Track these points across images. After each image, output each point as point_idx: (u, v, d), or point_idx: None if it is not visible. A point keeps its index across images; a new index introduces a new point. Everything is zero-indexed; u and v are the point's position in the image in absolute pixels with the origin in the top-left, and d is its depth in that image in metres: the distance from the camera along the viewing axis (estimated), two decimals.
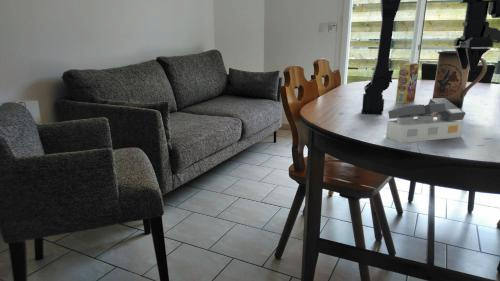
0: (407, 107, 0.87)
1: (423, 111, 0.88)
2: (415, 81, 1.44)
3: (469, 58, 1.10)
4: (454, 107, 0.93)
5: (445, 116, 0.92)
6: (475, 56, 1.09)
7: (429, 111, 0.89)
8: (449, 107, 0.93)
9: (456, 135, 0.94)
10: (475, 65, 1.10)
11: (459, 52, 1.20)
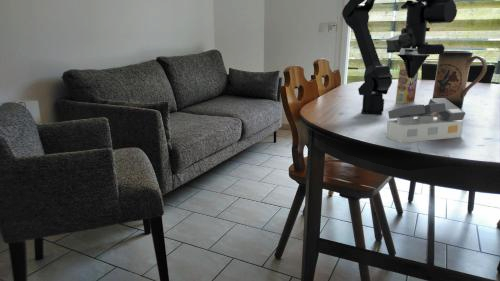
0: (407, 107, 0.87)
1: (423, 111, 0.88)
2: (415, 81, 1.44)
3: None
4: (454, 107, 0.93)
5: (445, 116, 0.92)
6: None
7: (429, 111, 0.89)
8: (449, 107, 0.93)
9: (456, 135, 0.94)
10: None
11: None
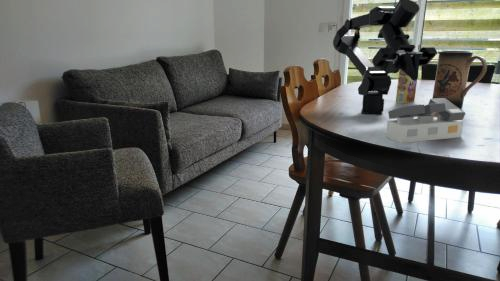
0: (407, 107, 0.87)
1: (423, 111, 0.88)
2: (415, 81, 1.44)
3: None
4: (454, 107, 0.93)
5: (445, 116, 0.92)
6: None
7: (429, 111, 0.89)
8: (449, 107, 0.93)
9: (456, 135, 0.94)
10: None
11: None
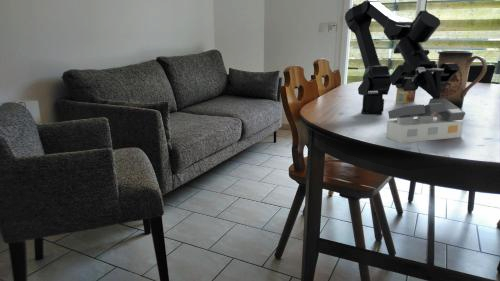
0: (407, 107, 0.87)
1: (423, 111, 0.88)
2: None
3: None
4: (454, 107, 0.93)
5: (445, 116, 0.92)
6: None
7: (429, 111, 0.89)
8: (449, 107, 0.93)
9: (456, 135, 0.94)
10: None
11: None
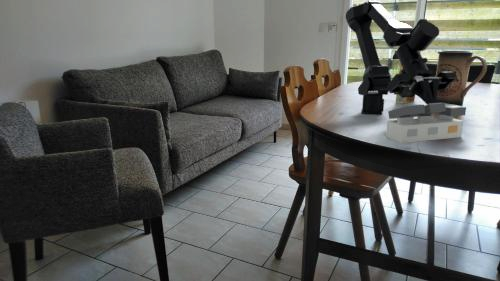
0: (407, 107, 0.87)
1: (423, 111, 0.88)
2: None
3: None
4: (453, 105, 0.93)
5: (446, 113, 0.91)
6: None
7: (429, 111, 0.89)
8: (448, 105, 0.93)
9: (456, 135, 0.94)
10: None
11: None
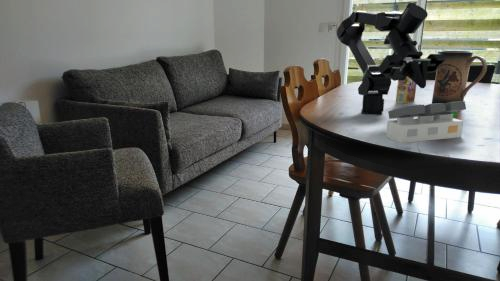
0: (407, 107, 0.87)
1: (423, 111, 0.88)
2: None
3: None
4: None
5: (447, 108, 0.91)
6: None
7: (429, 111, 0.89)
8: None
9: (456, 135, 0.94)
10: None
11: None
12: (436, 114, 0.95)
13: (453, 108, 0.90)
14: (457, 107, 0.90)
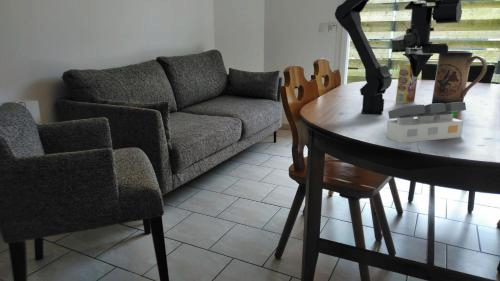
0: (407, 107, 0.87)
1: (423, 111, 0.88)
2: (415, 81, 1.44)
3: None
4: None
5: (447, 109, 0.91)
6: None
7: (429, 111, 0.89)
8: None
9: (456, 135, 0.94)
10: None
11: None
12: (436, 114, 0.95)
13: (453, 109, 0.90)
14: (457, 108, 0.90)
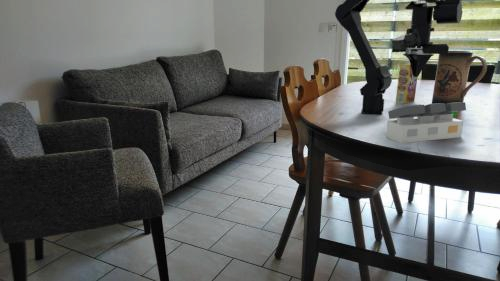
0: (407, 107, 0.87)
1: (423, 111, 0.88)
2: (415, 81, 1.44)
3: None
4: None
5: (447, 109, 0.91)
6: None
7: (429, 111, 0.89)
8: None
9: (456, 135, 0.94)
10: None
11: None
12: (436, 114, 0.95)
13: (453, 109, 0.90)
14: (457, 108, 0.90)
